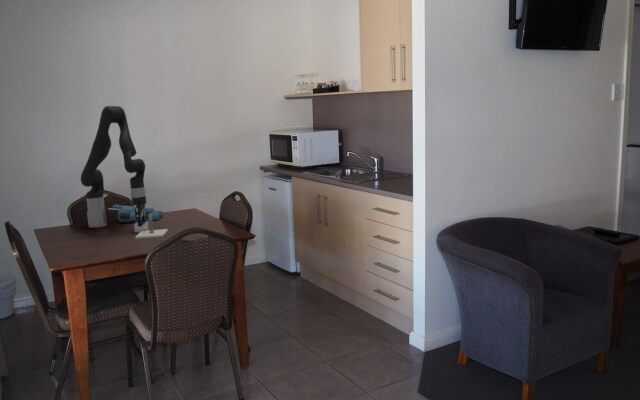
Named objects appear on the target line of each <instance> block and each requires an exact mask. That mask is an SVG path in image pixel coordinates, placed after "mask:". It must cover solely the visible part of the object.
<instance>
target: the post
mask: <svg viewBox="0 0 640 400" xmlns="http://www.w3.org/2000/svg"><path fill="white" fill-rule="evenodd" d="M147 219H148V228H149V229H148V230H147V231H141V232H138V234H137V235H135V239H150V238H162V237H164V236H165V235H166V234H167V233H168V231H169V230H168V228H164V229H154V222H153V221H154V220H152V214H148V218H147Z"/></svg>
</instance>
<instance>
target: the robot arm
mask: <svg viewBox="0 0 640 400" xmlns="http://www.w3.org/2000/svg"><path fill="white" fill-rule="evenodd" d="M112 124H117V126H118V127H119V139H118V144H119V147H120V150H121V153H122V156H123V161H124V163H123V164H124V169H125V171H126V172H127V173H129V174H132V173H135V175H134V176H132V177H131V178H130V179H129V183H130V184H129V185H130V196H131V206H135V219H137V221H136V222H137V223H138V227H140V226H142V222H146V221H147V219H146V220H145V216H146V210H145V208H146V204H147V194H146V189H145V183H144V182H145V181H144V178H145V171H146V163H145V161H144V160H143V159H141V158H135V159H132V158H133V157H135V156H136V155H137V151H136V147H135V145H134V143H133V140H132V136H131V134H130V130H129V123H128V120H127V115H126V112H125V110H124V108H123V107H122V106H118V105H107V106H104V107H103V109H102V111H101V114H100V119H99V124H98V128H97V132H96V135H95V138H94V141H93V143H92V147H91V149H90V153H89V155H88V158H87V160H86V163H85V166H84V168H83V169H82V172H81V175H80V183H81V184H82V186H83V187H86V188H87V187H91V188H90V190H89V191H88V192H86V194H85V197H86V206H87V211H86V215H87V223H88V228H92V229H93V228H94V229H97V228H103V227H106V226H107V225H108V224H107V217H106V216H107V215H106V206H105V199H104V191H105V188H104V187H105V186H104V175H103V173H102V171H101V170H100V169H99V168H98V167H99V165H101V164H102V163H103V162H104V161H105V159H106V158H107V157H108V156H109V153H110V150H111V147H112V140H111V137H110V134H109V133H110V132H109V130H110V126H111V125H112ZM138 216H139V217H138Z"/></svg>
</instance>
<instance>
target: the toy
mask: <svg viewBox="0 0 640 400" xmlns="http://www.w3.org/2000/svg"><path fill="white" fill-rule="evenodd" d="M135 208H136V205H120V204H112V206H111V208H109V207H107V209H108V210H109V211H115V212H116V214H117V219H118V221H119V222H120V223H130V222H133V221H135V222H137V219H135ZM145 210H146V216H145V220H146V221H147V219H148V214H152V220H153V221H159V220H160V219H161V218H160V217H162V218H163V216H164V214H163V213H164V212H163V211H162V210H154V208H149V207H145ZM138 217H139V216H138Z"/></svg>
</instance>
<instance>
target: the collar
mask: <svg viewBox="0 0 640 400" xmlns="http://www.w3.org/2000/svg"><path fill="white" fill-rule="evenodd" d="M133 225H134V232H135V233H140V232H141V231H147V230H150V229H149V220H146V222H142V226H140V227H138V223H137V221H135V223H134V224H133Z"/></svg>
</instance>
